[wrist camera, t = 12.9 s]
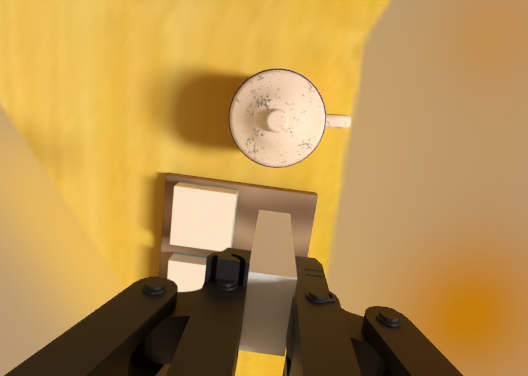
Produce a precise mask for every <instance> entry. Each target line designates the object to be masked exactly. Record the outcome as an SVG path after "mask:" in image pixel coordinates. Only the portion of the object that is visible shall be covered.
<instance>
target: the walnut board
mask: <svg viewBox="0 0 528 376" xmlns="http://www.w3.org/2000/svg"><path fill="white" fill-rule="evenodd" d="M180 181H181V182H188V183H196V184H203V185H210V186H218V187H225V188H233V189H239V192H238V200H237V209H236V218H235V226H234V235H233V243H232V247H231V248H236V249H243V250H250V251H252V246H253V241H254V235H255V230H256V224H257V219H258V213H259V210H266V211H274V212H281V213H288V214H290V216H291V225H292V234H293V244H294V253H295V256H301V257H307V256H308V250H309V244H310V238H311V232H312V226H313V220H314V214H315V209H316V203H317V197H318V196H317V193H314V192H306V191H299V190H292V189H284V188H277V187H270V186H262V185H255V184H247V183H240V182H233V181H225V180H218V179H211V178H203V177H196V176H189V175H181V174H174V173H169V174H167V175H166V184H165V199H164V213H163V228H162V242H161V257H160V271H159V277H162V278H167V275H168V262H169V259H170V258H171V256H172V255H173V253H174V252H180V253H187V254H194V255H201V256H208V255H210V254H211V253H214V252H219V251H214V250H207V249H199V248H192V247H185V246H178V245H170V235H171V222H172V208H173V195H174V186H175V185H176V184H177V183H179V182H180Z"/></svg>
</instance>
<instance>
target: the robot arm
mask: <svg viewBox="0 0 528 376" xmlns="http://www.w3.org/2000/svg"><path fill="white" fill-rule="evenodd" d="M285 349H286V351H287V352H286V358H285V364H284V370H283V376H463V375H462V374H461V373H460V372H459V371H458V370H457V369H456V368H455V367H454V366H453V365H452V364H451V363H450V361H449V360H448V359H447V358H446V357H445V356H444V355H443V354H442V353H441V352H440V351H439V350H438V349H437V348H436V347H435V346H434V345H433V344H432V343H431V342H430V341H429V340H428V339H427V338H426V337H425V336H424V335H423V333H422V332H421V331H419V329H418V328H417V327H416V326H415V325H414V324H413V323H412V322H411V321H410V320H409V319H408V318H406V317H405V316H404V315H403V314H401V313H399V312H397V311H396V310H394V309H392V308H388V307H381V306H373V307H369V308H368V309H366V311H365V315H364V317H362V316H359V315H356V314H353V313H350V312H348V311H345V310H344V309H342V308H341V306H340V302H339V300H338V298H337V297H336V295H334V294H333V293H332V292H330V291H329V289H328V285H327V281H326V278H325V274H324V270H323V267H322V264H321V263H320V262H318V261H317V260H316V259H315V258H308V257H301V256H295V253H294V244H293V234H292V225H291V216H290V214H288V213H281V212H274V211H266V210H259V213H258V219H257V224H256V230H255V235H254V241H253V246H252V251H250V250H243V249H236V248H226V249H225V250H223V251H219V252H214V253H211V254H210V255H208V256H207V260H206V270H205V280H204V284H203V286H202V288H201V289H198V290H194V291H187V292H178V287H177V284H176V283H175V282H174V281H172V280H170V279H167V278H162V277H149V278H144V279H141V280H139V281H137V282H135V283H133V284H132V285H130V286H129V287H128V288H126V289H125V290H123V291H122V292H121V293H119V294H118V295H116V296H115V297H114V298H112V299H111V300H109V301H108V302H107V303H105V304H104V305H102V306H101V307H100V308H99V309H97V310H95V311H94V312H93V313H91V314H90V315H88V316H87V317H86V318H84V319H83V320H81V321H80V322H79V323H77V324H76V325H74V326H73V327H72V328H70V329H69V330H67V331H66V332H65V333H63V334H62V335H60V336H59V337H58V338H56V339H55V340H53V341H52V342H51V343H49V344H48V345H46V346H45V347H43V348H42V349H41V350H39V351H38V352H37V353H35V354H34V355H32V356H31V357H29V358H28V359H27V360H25V361H24V362H23V363H21V364H20V365H18V366H17V367H15V368H14V369H13V370H11V371H10V372H8V373H7V374H6V375H4V376H235V371H236V365H237V358H238V350H243V351H250V352H257V353H264V354H271V355H278V356H284V355H285Z"/></svg>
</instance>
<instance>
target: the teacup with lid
mask: <svg viewBox="0 0 528 376" xmlns="http://www.w3.org/2000/svg"><path fill="white" fill-rule="evenodd" d="M350 125H351V117H350V116H348V115H336V114H326V111H325V106H324V102H323V100H322V97H321V95H320V93H319V92H318V90H317V89H316V87H315V86H314V85H313V84H312V83H311V82H310V81H309V80H308V79H307V78H305V77H304V76H302V75H300V74H299V73H296V72H294V71H291V70H286V69H269V70H265V71H261V72H259V73H257V74H255V75H253V76H251V77H250V78H249V79H247V80H246V81H245V82H244V83H243V84H242V85H241V86H240V87H239V89H238V90H237V92H236V93H235V95H234V97H233V99H232V102H231V105H230V110H229V127H230V132H231V135H232V138H233V140H234V142H235V144H236V145H237V147H238V148H239V149H240V151H241V152H242V153H243V154H244V155H245V156H246V157H248V158H249V159H250V160H252V161H254V162H256V163H258V164H260V165H263V166H267V167H274V168H280V167H287V166H291V165H294V164H296V163H298V162H300V161H302V160H304V159H305V158H306V157H308V156H309V155H310V154H311V153H312V152H313V151H314V150H315V149H316V147H317V146H318V144H319V142H320V141H321V138H322V136H323V133H324V130H325V128H348V127H350Z"/></svg>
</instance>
